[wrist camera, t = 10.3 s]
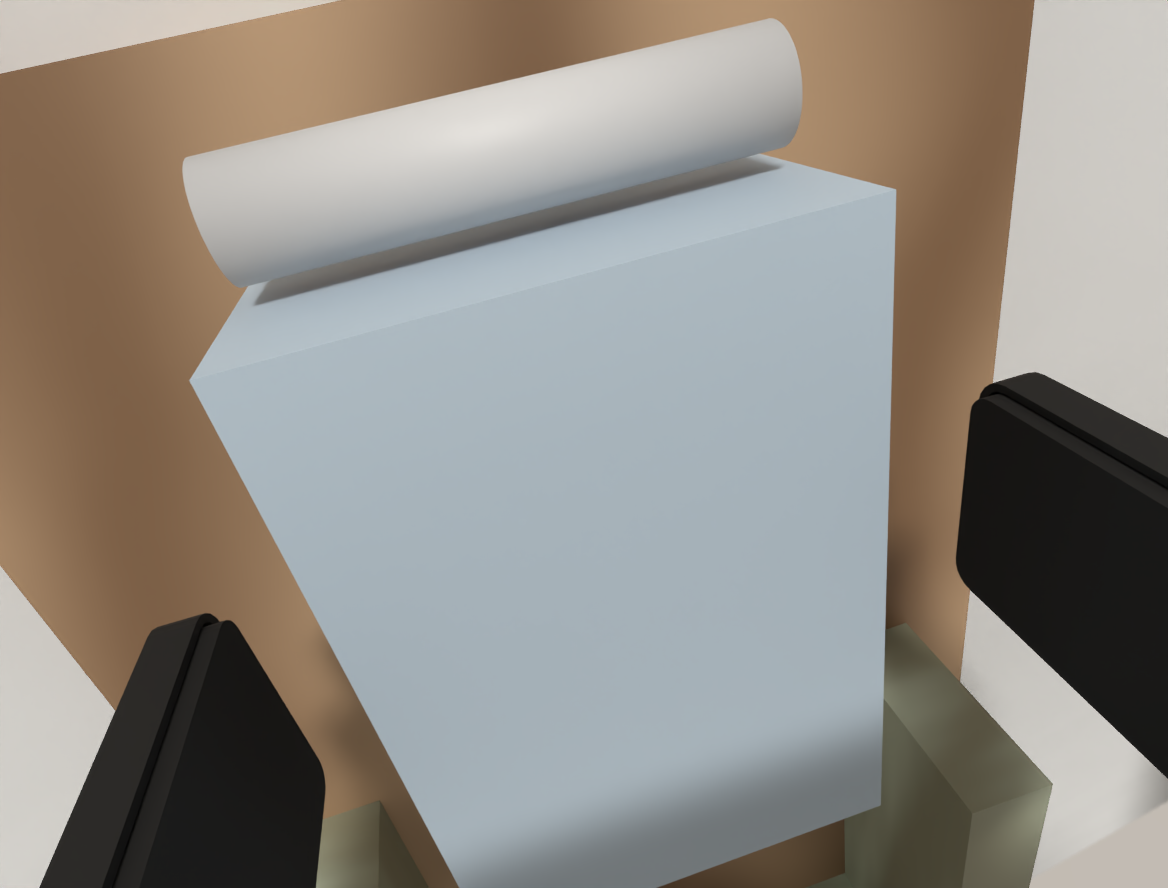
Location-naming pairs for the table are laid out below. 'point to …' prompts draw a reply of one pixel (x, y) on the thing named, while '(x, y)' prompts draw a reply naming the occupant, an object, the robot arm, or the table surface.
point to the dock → (207, 298)
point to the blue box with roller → (577, 450)
